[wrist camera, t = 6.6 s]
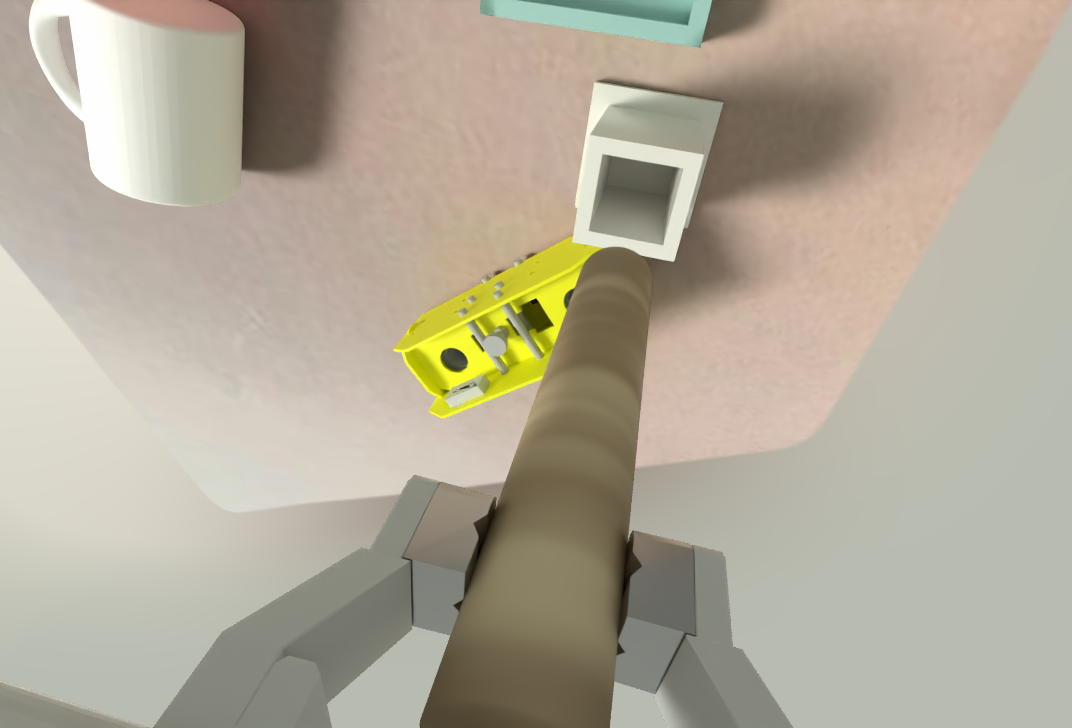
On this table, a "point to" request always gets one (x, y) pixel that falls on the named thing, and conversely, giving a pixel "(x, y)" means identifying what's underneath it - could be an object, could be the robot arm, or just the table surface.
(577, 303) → the dowel
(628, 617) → the robot arm
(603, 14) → the tray
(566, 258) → the yellow toy chassis
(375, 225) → the table surface
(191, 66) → the mug
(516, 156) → the table surface
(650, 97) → the pencil cup
